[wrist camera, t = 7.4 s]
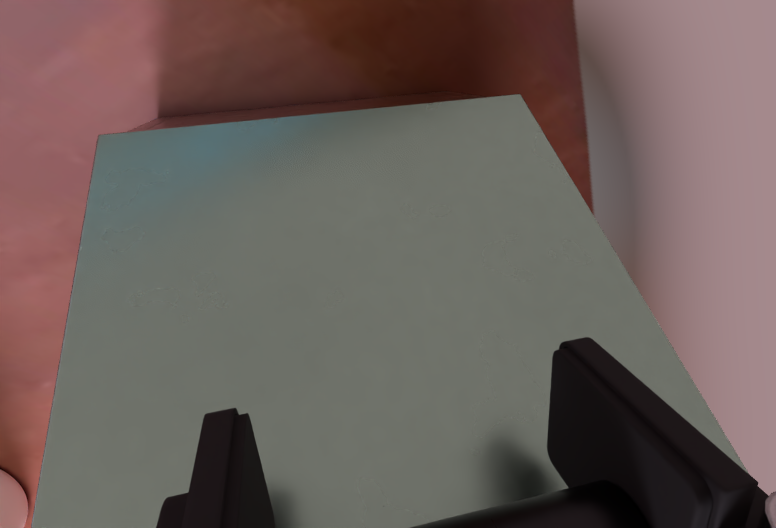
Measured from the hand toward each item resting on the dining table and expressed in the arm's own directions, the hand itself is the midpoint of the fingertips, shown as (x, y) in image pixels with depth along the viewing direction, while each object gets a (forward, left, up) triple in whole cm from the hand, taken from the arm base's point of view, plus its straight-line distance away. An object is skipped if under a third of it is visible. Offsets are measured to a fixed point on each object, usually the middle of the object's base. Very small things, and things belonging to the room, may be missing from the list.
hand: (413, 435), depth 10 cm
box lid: (0, 0, -5) cm, 5 cm away
